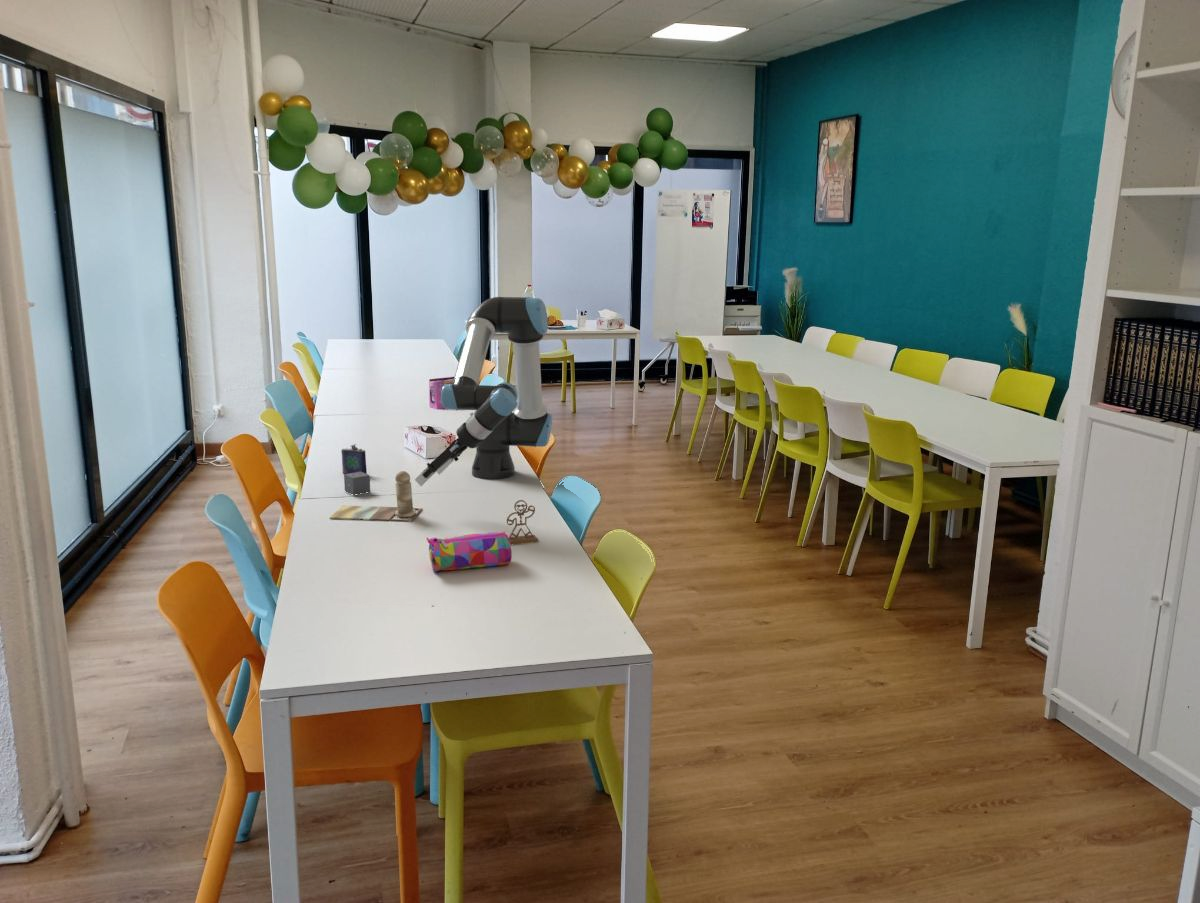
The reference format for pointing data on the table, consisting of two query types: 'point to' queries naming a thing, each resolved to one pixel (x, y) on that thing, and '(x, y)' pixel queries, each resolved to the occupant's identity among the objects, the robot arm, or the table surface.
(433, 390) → the gum box
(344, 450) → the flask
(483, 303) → the robot arm
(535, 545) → the table surface
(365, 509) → the board
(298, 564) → the table surface
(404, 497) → the pawn
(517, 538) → the gingerbread man figurine
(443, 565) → the pencil case
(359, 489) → the die
